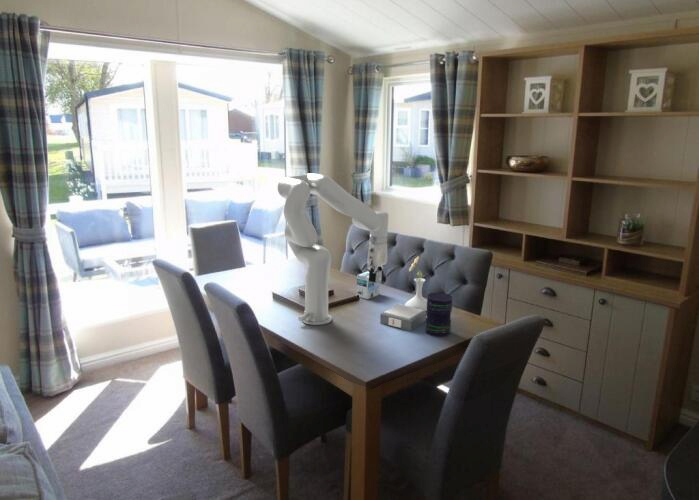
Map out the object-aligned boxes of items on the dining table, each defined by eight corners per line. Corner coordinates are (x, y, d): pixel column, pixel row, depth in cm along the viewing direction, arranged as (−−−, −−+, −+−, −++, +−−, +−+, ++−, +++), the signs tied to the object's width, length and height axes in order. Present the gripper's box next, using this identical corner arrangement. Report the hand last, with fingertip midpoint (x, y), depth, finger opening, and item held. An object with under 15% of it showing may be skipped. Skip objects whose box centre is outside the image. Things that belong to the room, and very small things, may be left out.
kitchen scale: (409, 331, 209) (410, 320, 208) (379, 323, 217) (379, 312, 215) (425, 320, 221) (426, 309, 220) (396, 313, 229) (397, 303, 227)
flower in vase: (411, 303, 242) (414, 250, 237) (434, 308, 237) (438, 254, 231) (399, 311, 231) (402, 256, 226) (423, 316, 226) (426, 260, 220)
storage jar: (455, 332, 209) (457, 296, 206) (440, 339, 202) (442, 302, 199) (434, 325, 216) (437, 290, 213) (419, 331, 209) (421, 295, 206)
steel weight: (377, 283, 229) (378, 272, 228) (367, 281, 231) (368, 270, 230) (383, 281, 233) (384, 270, 232) (373, 279, 235) (374, 268, 234)
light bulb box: (367, 299, 246) (368, 277, 244) (355, 296, 250) (356, 274, 248) (380, 294, 254) (381, 272, 252) (368, 291, 258) (369, 270, 256)
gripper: (375, 244, 219) (372, 286, 223) (395, 238, 233) (392, 278, 237) (360, 241, 223) (357, 282, 227) (380, 236, 237) (378, 275, 241)
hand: (375, 279), depth 232 cm, fingers closed on steel weight, 5 cm apart
